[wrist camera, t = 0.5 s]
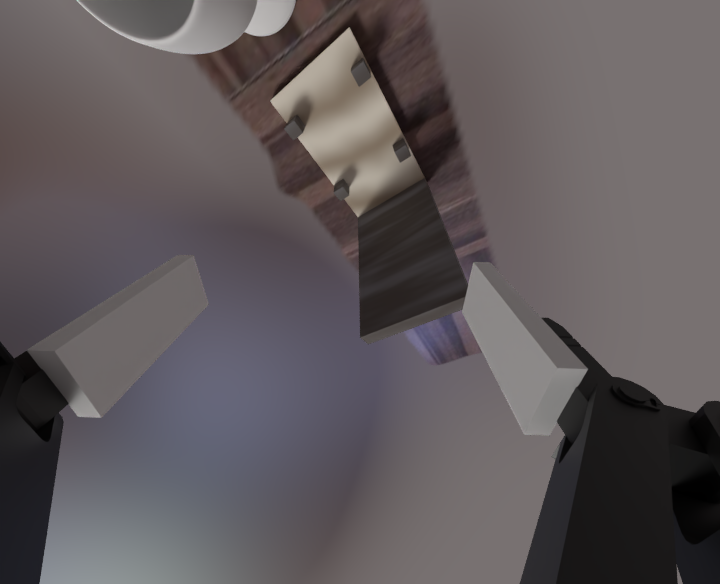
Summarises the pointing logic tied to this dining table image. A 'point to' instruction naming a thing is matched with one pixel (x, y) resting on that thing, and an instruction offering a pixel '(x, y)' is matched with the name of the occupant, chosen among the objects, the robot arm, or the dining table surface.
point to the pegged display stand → (375, 191)
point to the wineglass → (190, 21)
